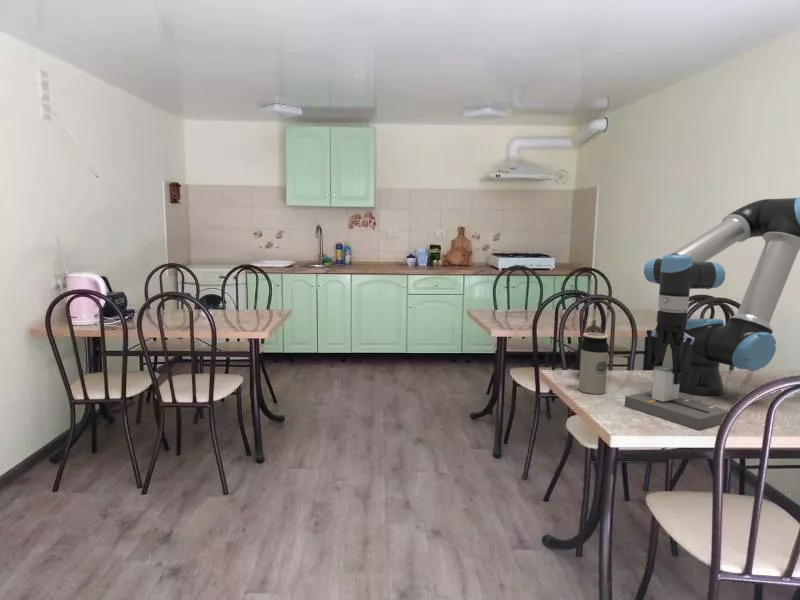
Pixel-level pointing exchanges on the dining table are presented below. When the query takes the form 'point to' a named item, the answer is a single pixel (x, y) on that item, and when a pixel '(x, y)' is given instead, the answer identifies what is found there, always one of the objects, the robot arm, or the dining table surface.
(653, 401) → the console
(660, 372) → the fader
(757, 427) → the dining table surface
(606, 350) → the travel mug
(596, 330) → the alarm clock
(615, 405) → the dining table surface
